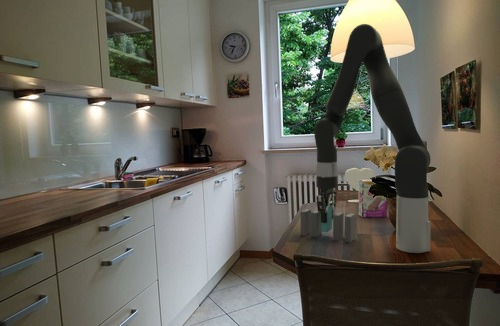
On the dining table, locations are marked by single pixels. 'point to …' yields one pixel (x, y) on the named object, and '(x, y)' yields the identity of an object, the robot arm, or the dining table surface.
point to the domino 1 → (305, 222)
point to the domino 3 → (328, 220)
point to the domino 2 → (316, 224)
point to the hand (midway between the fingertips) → (326, 220)
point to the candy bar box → (370, 202)
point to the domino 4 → (338, 226)
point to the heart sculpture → (358, 178)
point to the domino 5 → (349, 228)
